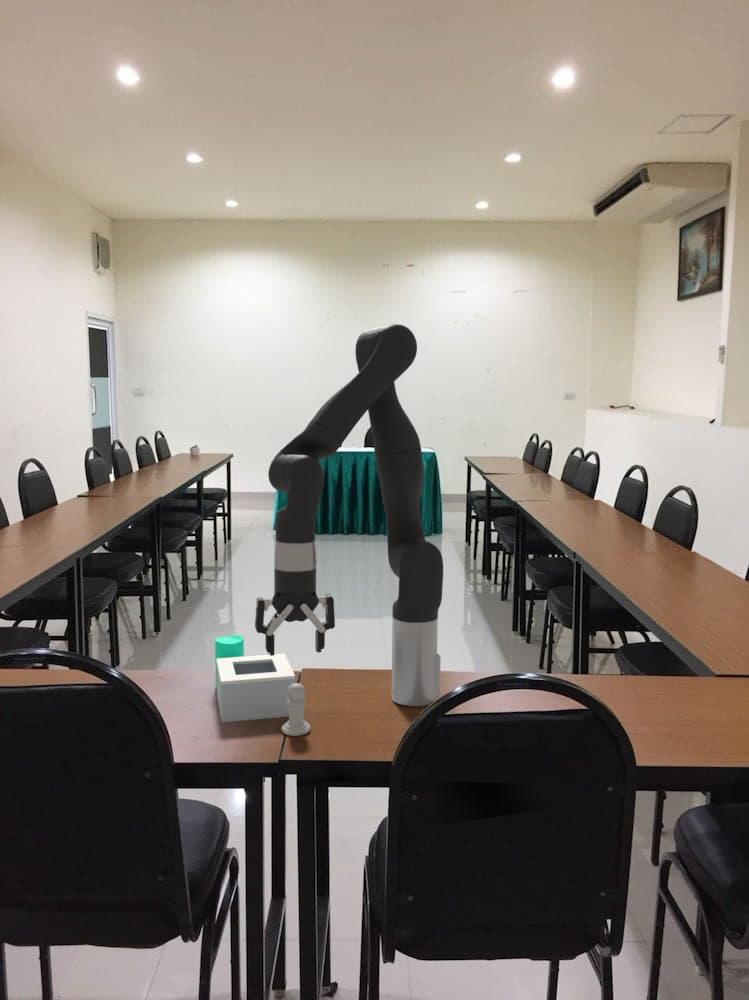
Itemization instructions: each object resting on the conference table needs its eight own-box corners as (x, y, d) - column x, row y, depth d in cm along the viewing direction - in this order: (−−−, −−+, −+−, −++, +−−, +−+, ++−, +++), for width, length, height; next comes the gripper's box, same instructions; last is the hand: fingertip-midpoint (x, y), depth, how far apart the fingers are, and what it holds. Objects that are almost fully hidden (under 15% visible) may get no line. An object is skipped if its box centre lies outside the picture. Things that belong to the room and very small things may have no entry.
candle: (245, 681, 168) (245, 627, 167) (242, 691, 162) (241, 635, 161) (218, 681, 168) (217, 627, 167) (213, 691, 162) (212, 635, 161)
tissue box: (284, 690, 163) (284, 653, 162) (295, 715, 150) (295, 675, 149) (217, 696, 160) (216, 658, 159) (221, 722, 146) (220, 681, 145)
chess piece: (316, 731, 143) (316, 684, 142) (293, 739, 139) (292, 691, 138) (298, 722, 146) (298, 676, 145) (275, 730, 143) (275, 683, 142)
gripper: (330, 560, 145) (329, 644, 146) (253, 562, 141) (253, 649, 143) (338, 568, 137) (337, 656, 139) (257, 571, 134) (257, 662, 136)
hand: (295, 652), depth 141 cm, fingers open, 8 cm apart
